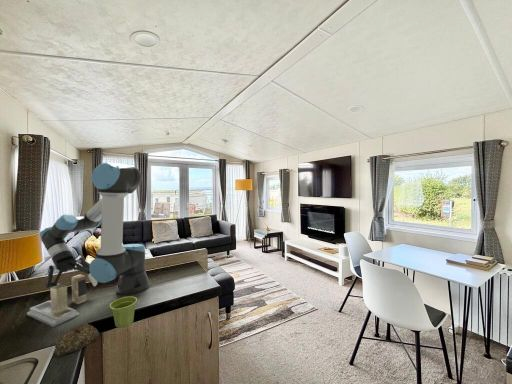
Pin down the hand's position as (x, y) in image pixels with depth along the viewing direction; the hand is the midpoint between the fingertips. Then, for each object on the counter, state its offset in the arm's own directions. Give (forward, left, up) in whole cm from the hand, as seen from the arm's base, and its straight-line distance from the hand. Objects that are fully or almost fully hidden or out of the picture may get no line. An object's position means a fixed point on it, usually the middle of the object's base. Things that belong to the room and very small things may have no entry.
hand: (80, 290), depth 106 cm
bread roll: (-20, +25, -6) cm, 33 cm away
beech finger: (+1, -1, -5) cm, 6 cm away
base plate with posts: (+3, +10, -5) cm, 12 cm away
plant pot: (-31, +14, -6) cm, 34 cm away
